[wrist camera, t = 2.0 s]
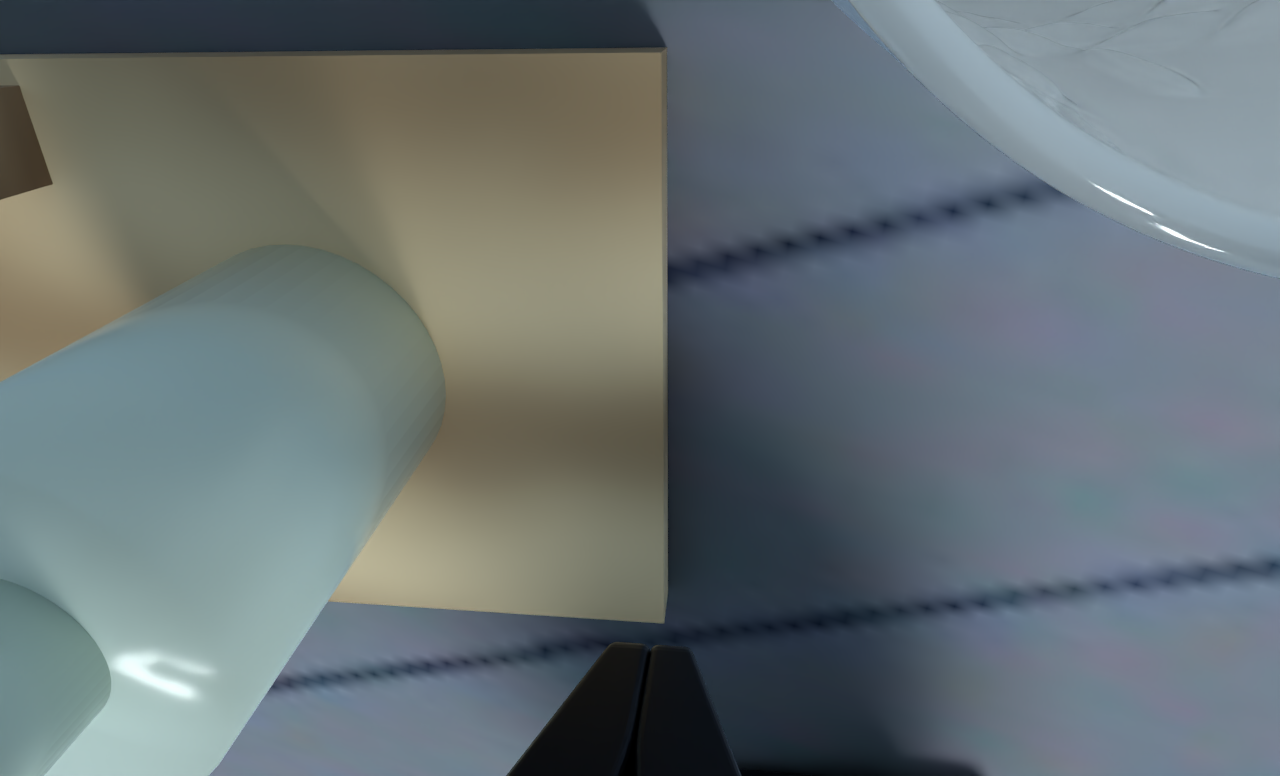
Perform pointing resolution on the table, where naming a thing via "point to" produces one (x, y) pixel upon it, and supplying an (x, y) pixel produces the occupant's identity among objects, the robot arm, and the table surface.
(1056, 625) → the table surface
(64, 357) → the bottle
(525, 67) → the cradle board
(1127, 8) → the white cup
